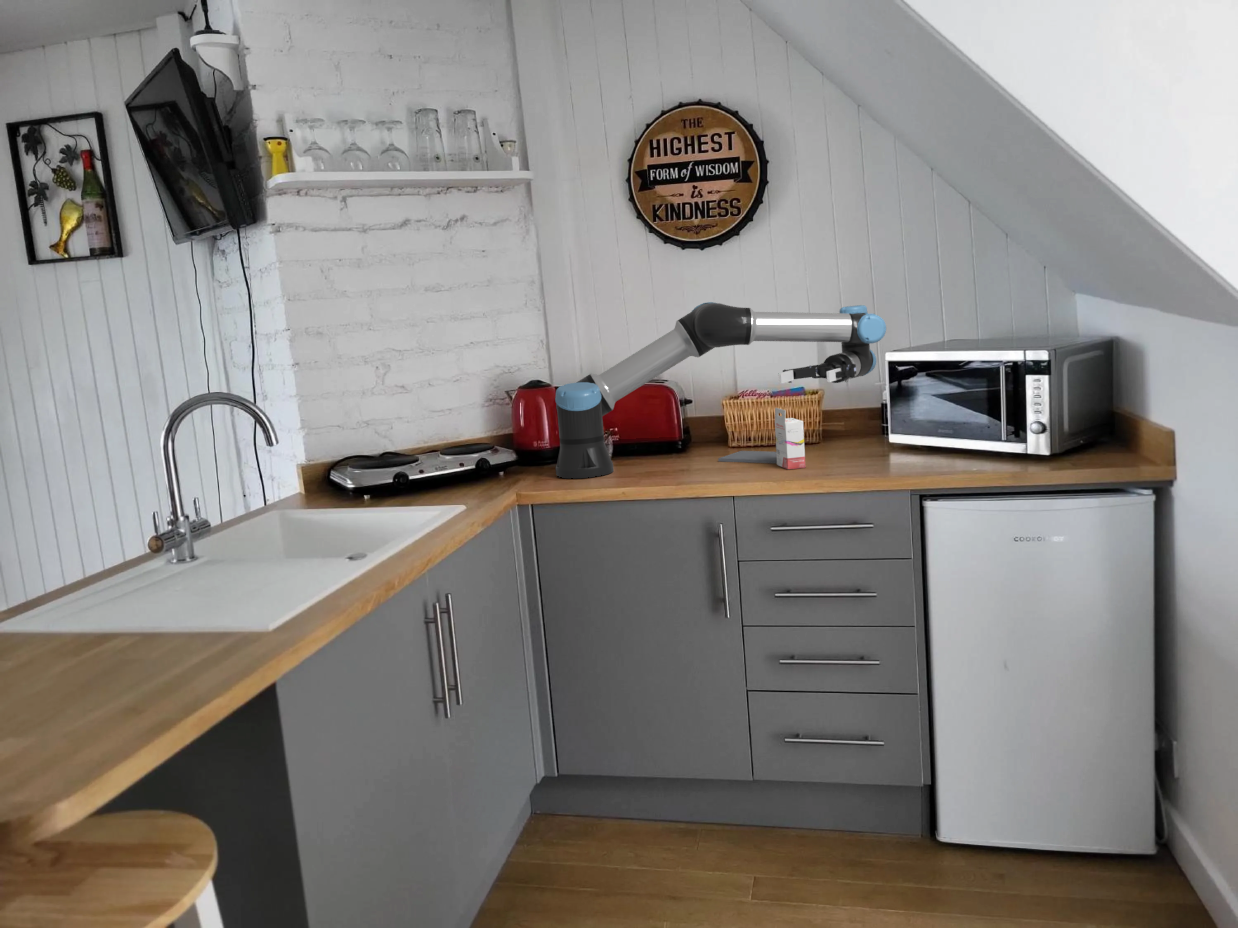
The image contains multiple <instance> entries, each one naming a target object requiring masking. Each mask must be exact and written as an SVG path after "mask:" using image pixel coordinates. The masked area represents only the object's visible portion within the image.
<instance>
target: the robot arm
mask: <svg viewBox="0 0 1238 928" xmlns="http://www.w3.org/2000/svg"><path fill="white" fill-rule="evenodd" d="M886 331H887V325H886V321H885V319H883V318H882V317H881V316H879V315H878V314H875V313H868V307H867V306H866V305H862V304H860V305H848V306H842V307H841V308H840V309H839V313H837V312H832V313H830V312H829V313H828V312H787V311H786V312H785V311H783V312H780V311H779V312H778V311H754V310H753V309H752V308H751V307H739V306H733V305H727V304H725V303H720V302H719V303H718V302H712V301H710V302H709V301H708V302H703V303H701V304H699V305H697V306H696V307H694V308H693V309H692V310H691V312H689V313H687V314H686V315H683V316H682V317H680V318H679V319H678V320H676V321H675V325H674V328H673V329H672V330H670V331H669V332H667V333H665V334H663V335H662V336H661V337H659V338H657V339H655V340H654V341H653V342H650V343H649V344H648V345H646V346H644V347H642V348H640V349H639V350H637V351H636V352H635V353H633V354H631V355H629V356H627V358H624V359H623V360H621V361H620V362H618V363H616V364H615V365H613V366H612V367H609V368H607V370H605V371H603V372H602V373H600V374H596V373H589V374H588V375H586V376H585V377H583V378H582V379H580V380H578V381H575V382H569V383H565V384H564V385H560V386H559V387H558V388H557V389H556V391H555V398H554V399H555V403H556V408H555V409H556V413H557V415H556V416H557V424H558V437H559V451H558V455H557V456H558V457H557V462H556V465H555V476H556V475H557V476H559V477H558V478H560V477H562V478H561V479H571V478H573V479H587V478H588V477H589V478H594V477H595V476H597V477H601V475H602V476H606V475H609V474H612V473H614V462H613V461H612V459H611V456H610V453H609V450H608V448H607V446H606V445H607V444H606V443H605V433H604V421H603V420H604V419H603V417H604V416H605V415H607V414H609V413H610V412H613V410H614V408H615V404H616V402H617V401H620V400H621V399H623V398H624V397H626V396H628V395H629V394H631V393H632V392H634V391H635V390H637V389H640V387H642V386H644V385H645V384H647V383H649V382H650V381H652V380H653V379H655V378H657V377H659V376H661V375H662V374H663V373H665V372H667V371H668V370H670V369H672V368H673V367H675V366H676V365H678V364H680V363H681V362H683V361H684V360H686V359H688V358H689V357H695V358H700V357H701V356H703V355H705V354H707V353H709V352H710V351H711V350H714V349H715V348H722V347H724V348H725V347H731V346H744V345H745V346H749V345H751V344H752V343H753V342H791V343H792V342H794V343H795V342H796V343H797V342H798V343H799V342H806V343H841V352H840V353H835V354H832V355H829V356H827V358H825V360H824V361H823V362H822V363H819V364H815V365H813V364H812V365H809V366H803V367H796V368H789V369H784V370H782V372H779V373H778V374H777V376H778V384H779V385H781V384H786V383H789V384H790V383H791V384H792V381H794V380H800V379H806V378H807V379H809V378H812V379H826V381H827V383H833V384H839V383H843V382H844V383H849V380H851V379H855V378H859V377H864V376H867V375H868V374H869V373H871V372H873V371H874V369H875V367H876V365H877V357H876V354H875V353H874V351H873V350H872V349H871V348H870V344H871V345H872V344H875V343H879V342H881V340H882V339H883V338H884V337H885V334H886V333H887V332H886ZM557 476H556V477H557Z"/></svg>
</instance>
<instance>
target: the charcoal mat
mask: <svg viewBox="0 0 1238 928" xmlns="http://www.w3.org/2000/svg"><path fill="white" fill-rule="evenodd" d="M718 462H724V463H726V462H727V463H752V464H777V454H776V451H768V450H767V451H766V450H765V451H763V450H762V451H761V450H757V451H756V450H739V451H737V452H734V453H730V454H728V455H727V454H726V455H725V456H721V457H718Z"/></svg>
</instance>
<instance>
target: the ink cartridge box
mask: <svg viewBox="0 0 1238 928" xmlns="http://www.w3.org/2000/svg"><path fill="white" fill-rule="evenodd" d="M779 414H780V415H779ZM786 414H787V411H786V409H783V408H778V407H775V408H774V431H775V450H776V451H775V452H776V454H777V463H776V465H777V466H779V467H781V468H783V469H786V470H795V469H806V450H805V437H804V436H805V434H804V432H805V431H804V420H801V419H797V418H794V417H787V418H786Z"/></svg>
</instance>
